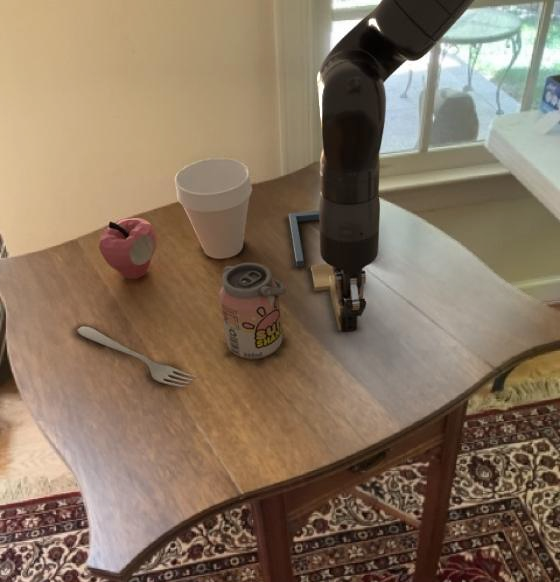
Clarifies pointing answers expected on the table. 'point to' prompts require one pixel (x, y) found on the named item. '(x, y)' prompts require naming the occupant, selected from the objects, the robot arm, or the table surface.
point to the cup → (216, 203)
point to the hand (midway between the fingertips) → (348, 328)
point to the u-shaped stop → (295, 232)
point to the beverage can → (251, 310)
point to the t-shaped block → (326, 285)
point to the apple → (129, 246)
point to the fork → (156, 370)
